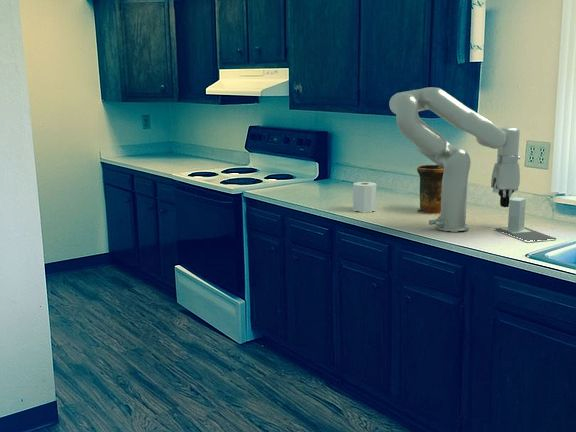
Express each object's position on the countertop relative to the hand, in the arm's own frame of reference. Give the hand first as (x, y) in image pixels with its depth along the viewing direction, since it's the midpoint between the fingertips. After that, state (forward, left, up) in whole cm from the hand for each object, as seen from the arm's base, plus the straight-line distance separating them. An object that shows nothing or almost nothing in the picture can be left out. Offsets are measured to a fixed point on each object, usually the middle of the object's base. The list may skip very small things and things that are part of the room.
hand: (504, 206), depth 245 cm
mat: (0, -13, -8) cm, 15 cm away
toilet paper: (-39, +46, -8) cm, 61 cm away
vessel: (-12, +34, -8) cm, 37 cm away
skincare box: (0, -8, -8) cm, 11 cm away
